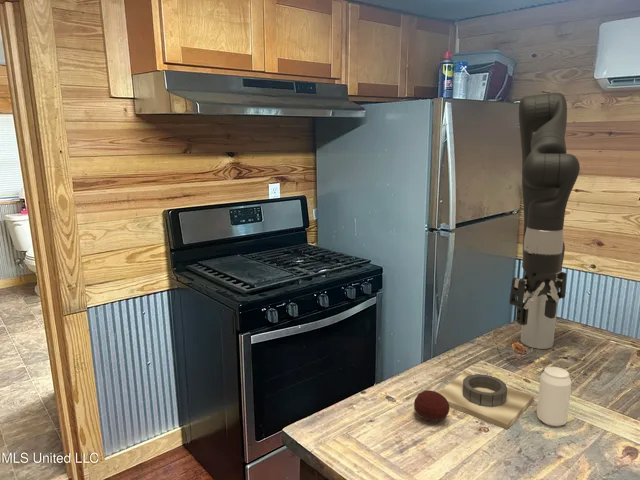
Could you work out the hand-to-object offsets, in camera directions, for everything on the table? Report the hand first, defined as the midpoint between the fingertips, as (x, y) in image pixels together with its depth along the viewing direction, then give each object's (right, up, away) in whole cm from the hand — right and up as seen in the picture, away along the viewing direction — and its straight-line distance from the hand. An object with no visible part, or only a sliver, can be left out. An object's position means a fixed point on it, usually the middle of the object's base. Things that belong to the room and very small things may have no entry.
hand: (535, 320), depth 108 cm
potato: (-22, -23, +4) cm, 32 cm away
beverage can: (+5, -23, +3) cm, 24 cm away
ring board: (-8, -21, +11) cm, 25 cm away
